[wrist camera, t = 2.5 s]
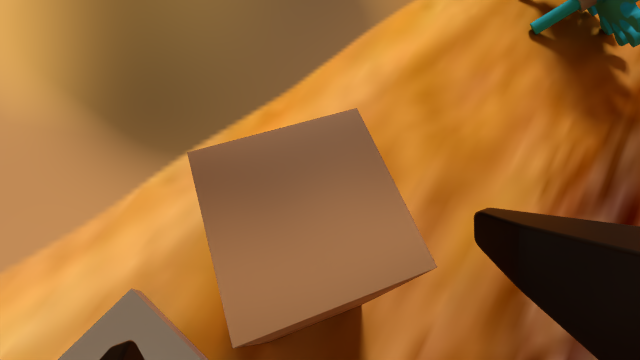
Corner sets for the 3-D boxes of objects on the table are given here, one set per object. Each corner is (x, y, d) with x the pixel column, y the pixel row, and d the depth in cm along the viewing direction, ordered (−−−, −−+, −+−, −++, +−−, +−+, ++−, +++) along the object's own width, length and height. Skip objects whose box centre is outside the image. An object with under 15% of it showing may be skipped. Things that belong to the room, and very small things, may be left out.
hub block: (361, 304, 17) (437, 267, 8) (267, 342, 16) (232, 347, 7) (327, 217, 19) (356, 108, 10) (241, 246, 18) (187, 152, 9)
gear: (665, 60, 24) (670, -51, 18) (573, 103, 27) (549, 22, 21) (586, -15, 30) (569, -119, 24) (518, 27, 33) (486, -55, 27)
